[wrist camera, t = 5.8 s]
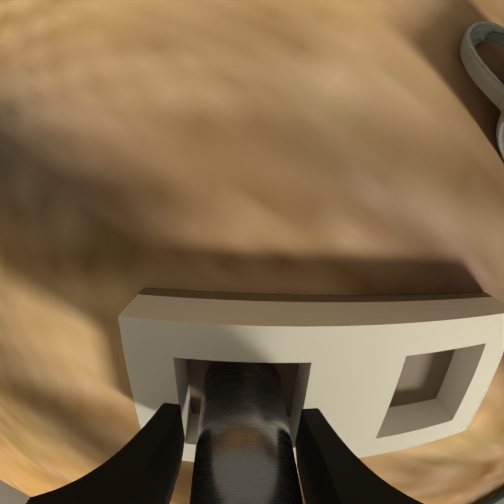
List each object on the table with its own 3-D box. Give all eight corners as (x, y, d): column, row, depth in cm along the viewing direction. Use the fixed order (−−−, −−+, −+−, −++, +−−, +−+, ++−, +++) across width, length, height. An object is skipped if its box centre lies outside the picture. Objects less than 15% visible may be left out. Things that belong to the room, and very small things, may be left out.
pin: (283, 403, 13) (309, 550, 6) (213, 411, 13) (204, 557, 6) (276, 349, 12) (309, 525, 5) (195, 359, 12) (168, 530, 5)
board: (445, 403, 15) (465, 429, 12) (161, 417, 15) (148, 455, 12) (484, 292, 13) (517, 311, 10) (143, 288, 13) (117, 315, 10)
